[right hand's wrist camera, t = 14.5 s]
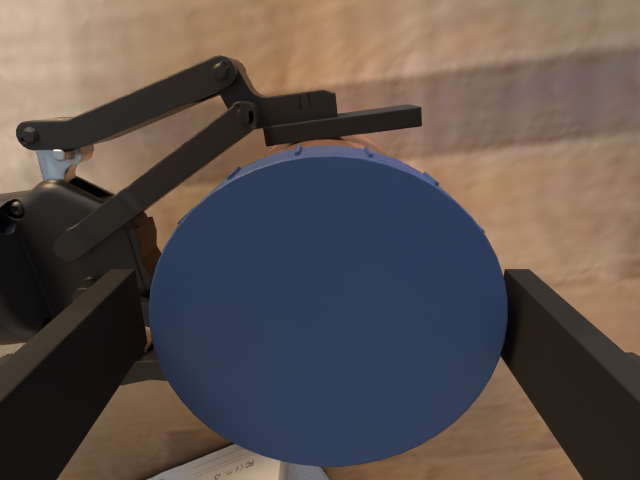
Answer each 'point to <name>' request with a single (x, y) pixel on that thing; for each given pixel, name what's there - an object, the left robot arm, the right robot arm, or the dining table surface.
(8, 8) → the dining table surface
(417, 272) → the lid
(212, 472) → the hard drive box
